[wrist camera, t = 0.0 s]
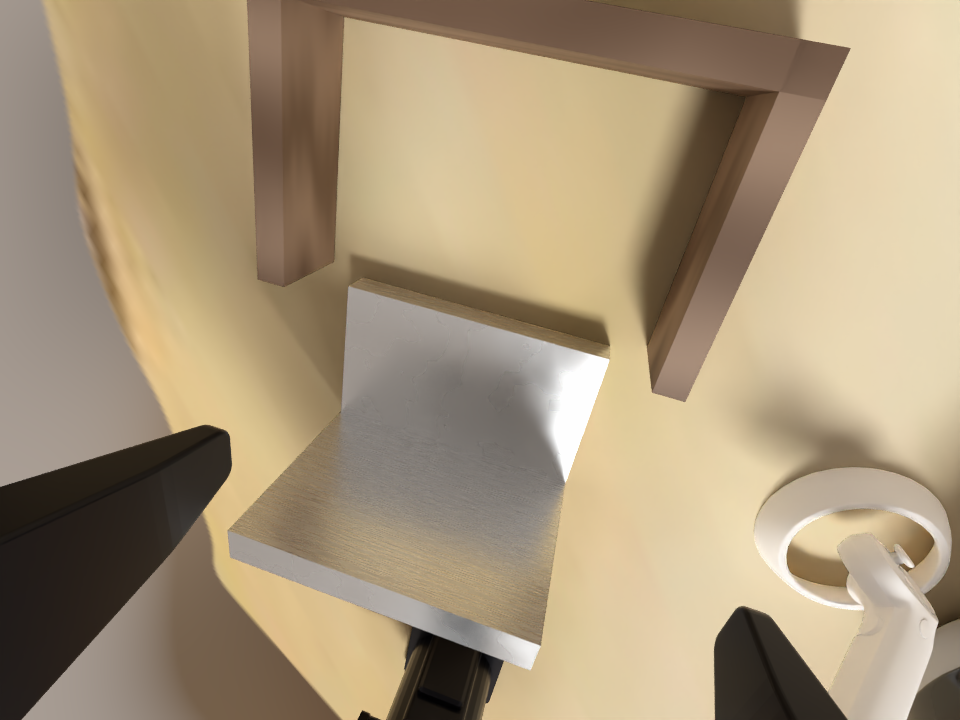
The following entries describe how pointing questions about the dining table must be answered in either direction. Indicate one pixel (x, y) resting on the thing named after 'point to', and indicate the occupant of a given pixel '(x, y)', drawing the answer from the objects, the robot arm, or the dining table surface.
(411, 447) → the bracket
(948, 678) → the pump dispenser
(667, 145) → the dining table surface
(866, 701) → the hook
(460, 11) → the bay
